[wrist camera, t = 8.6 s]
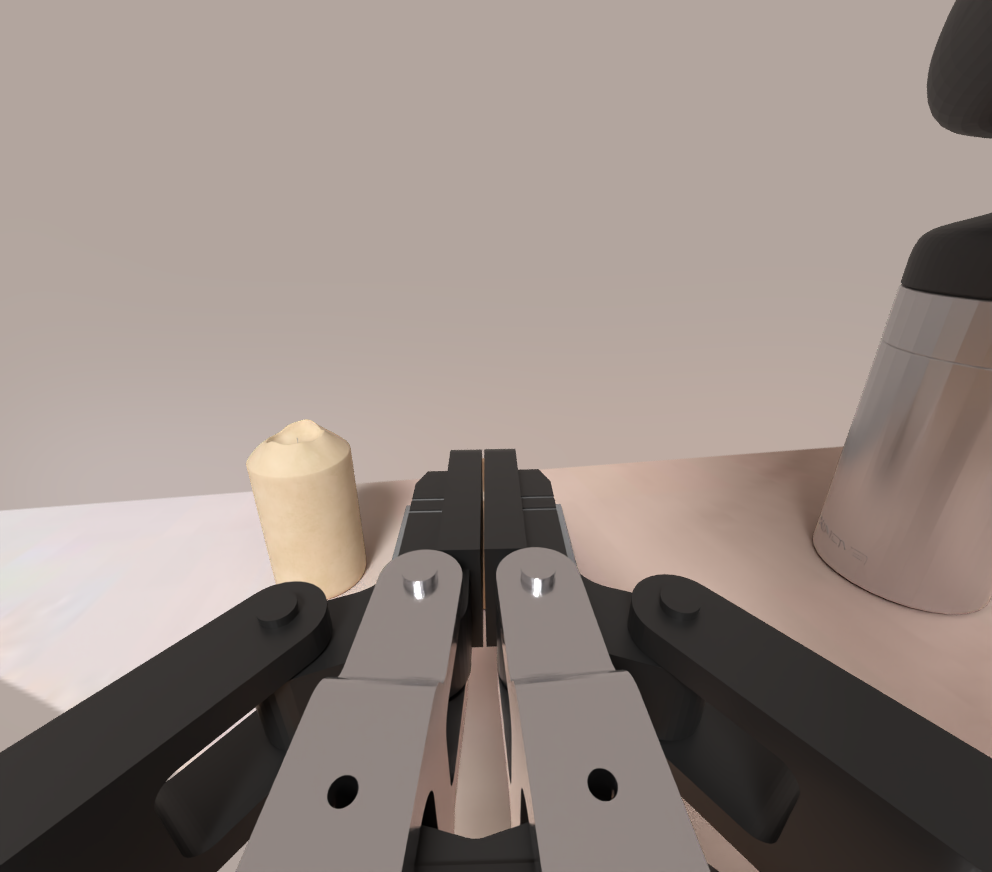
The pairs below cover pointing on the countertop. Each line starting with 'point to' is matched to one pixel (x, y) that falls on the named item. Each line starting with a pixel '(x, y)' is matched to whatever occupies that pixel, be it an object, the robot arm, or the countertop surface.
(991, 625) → the countertop surface
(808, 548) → the countertop surface
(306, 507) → the candle
